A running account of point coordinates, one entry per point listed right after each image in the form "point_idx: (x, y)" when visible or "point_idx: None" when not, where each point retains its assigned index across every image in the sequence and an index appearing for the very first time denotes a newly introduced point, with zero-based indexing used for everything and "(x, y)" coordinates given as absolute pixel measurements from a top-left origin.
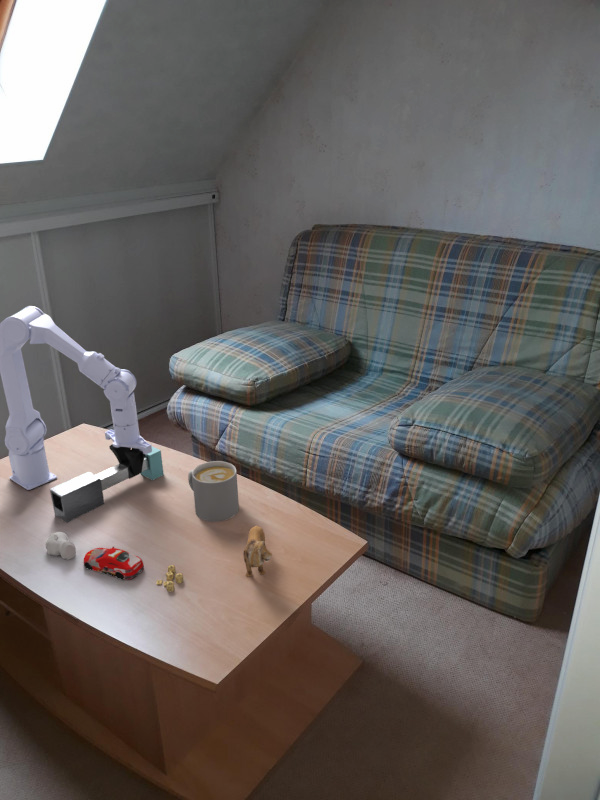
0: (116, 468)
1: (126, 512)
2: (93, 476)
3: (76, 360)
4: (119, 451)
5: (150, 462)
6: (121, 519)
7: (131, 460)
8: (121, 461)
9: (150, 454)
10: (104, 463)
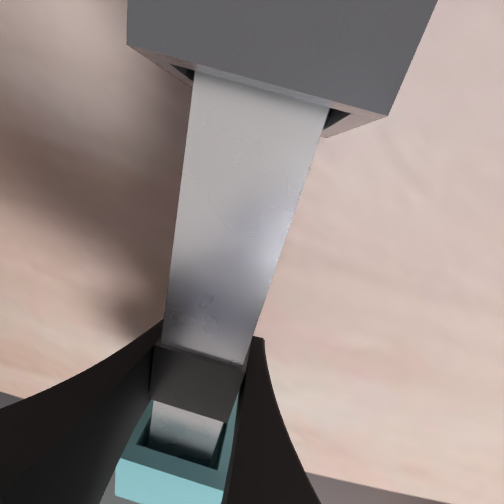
0: (215, 311)
1: (79, 98)
2: (238, 34)
3: None
4: (227, 487)
5: None
6: (45, 25)
7: (61, 395)
8: (244, 386)
9: (121, 464)
10: (444, 386)
